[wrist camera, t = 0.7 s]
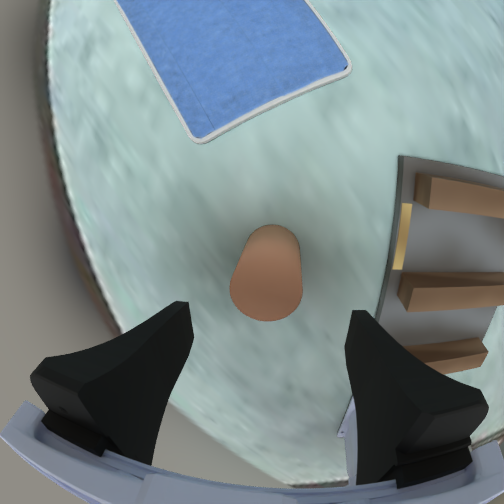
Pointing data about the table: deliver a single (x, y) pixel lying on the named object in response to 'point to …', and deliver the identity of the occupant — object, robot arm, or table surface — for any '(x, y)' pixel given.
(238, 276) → the terracotta plug
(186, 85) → the tablet computer
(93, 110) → the table surface
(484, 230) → the comb rack
